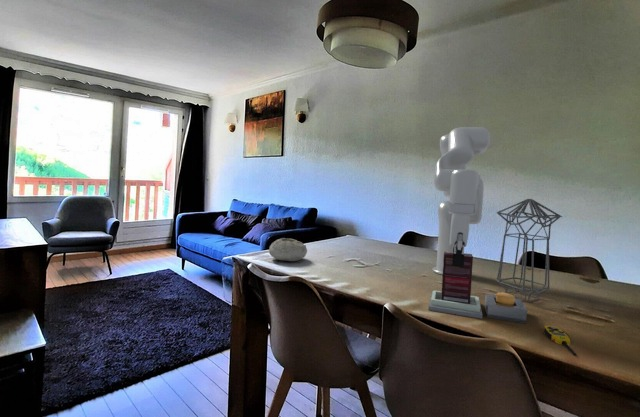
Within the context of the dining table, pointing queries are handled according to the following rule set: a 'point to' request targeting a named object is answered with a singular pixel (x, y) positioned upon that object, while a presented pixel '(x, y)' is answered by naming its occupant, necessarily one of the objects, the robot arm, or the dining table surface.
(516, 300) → the button housing
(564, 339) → the yellow black handheld tool
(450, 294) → the supplement box
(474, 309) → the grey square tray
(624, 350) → the dining table surface
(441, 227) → the robot arm
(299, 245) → the grey rounded lump
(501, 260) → the geometric lantern
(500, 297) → the button
